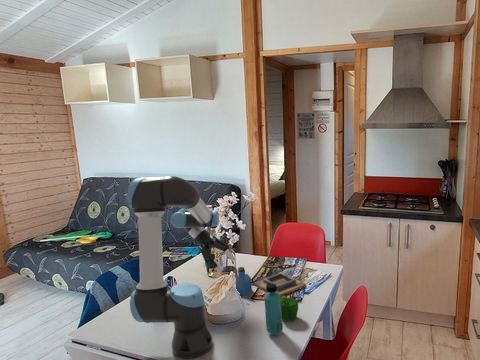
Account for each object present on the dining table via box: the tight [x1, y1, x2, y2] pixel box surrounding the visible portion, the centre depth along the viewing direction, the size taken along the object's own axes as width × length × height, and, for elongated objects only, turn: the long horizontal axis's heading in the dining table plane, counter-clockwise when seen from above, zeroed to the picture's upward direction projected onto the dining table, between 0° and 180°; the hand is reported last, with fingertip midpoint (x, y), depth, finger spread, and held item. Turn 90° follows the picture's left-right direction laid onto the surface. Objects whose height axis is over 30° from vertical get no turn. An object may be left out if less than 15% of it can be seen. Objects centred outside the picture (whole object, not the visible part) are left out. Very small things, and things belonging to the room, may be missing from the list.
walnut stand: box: [253, 271, 307, 297], centre depth 180 cm, size 18×18×4 cm
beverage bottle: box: [263, 283, 284, 335], centre depth 141 cm, size 6×7×20 cm
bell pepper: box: [280, 295, 299, 322], centre depth 151 cm, size 8×8×10 cm
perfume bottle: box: [235, 266, 253, 297], centre depth 177 cm, size 6×6×12 cm
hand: (228, 265), depth 180 cm, fingers open, 13 cm apart
